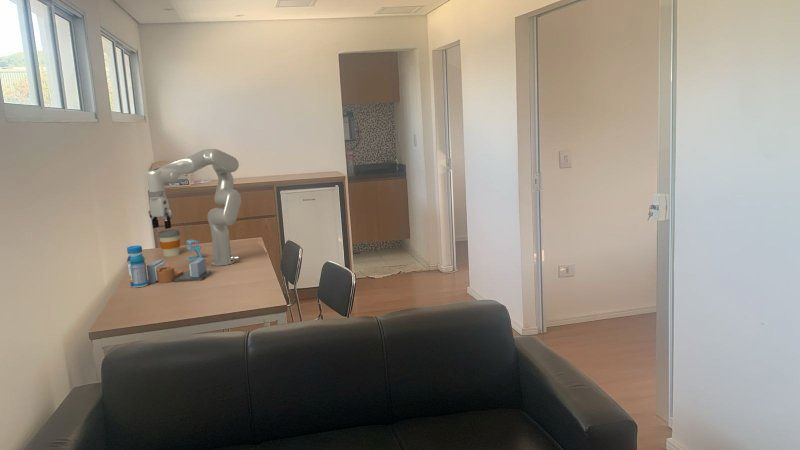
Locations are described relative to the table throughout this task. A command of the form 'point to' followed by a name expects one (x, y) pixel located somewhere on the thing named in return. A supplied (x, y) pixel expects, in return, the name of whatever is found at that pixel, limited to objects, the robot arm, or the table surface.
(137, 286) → the beverage bottle
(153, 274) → the block
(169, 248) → the reusable coffee cup
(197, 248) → the small desk lamp
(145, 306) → the table surface
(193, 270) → the block
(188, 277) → the plate
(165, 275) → the bracket
